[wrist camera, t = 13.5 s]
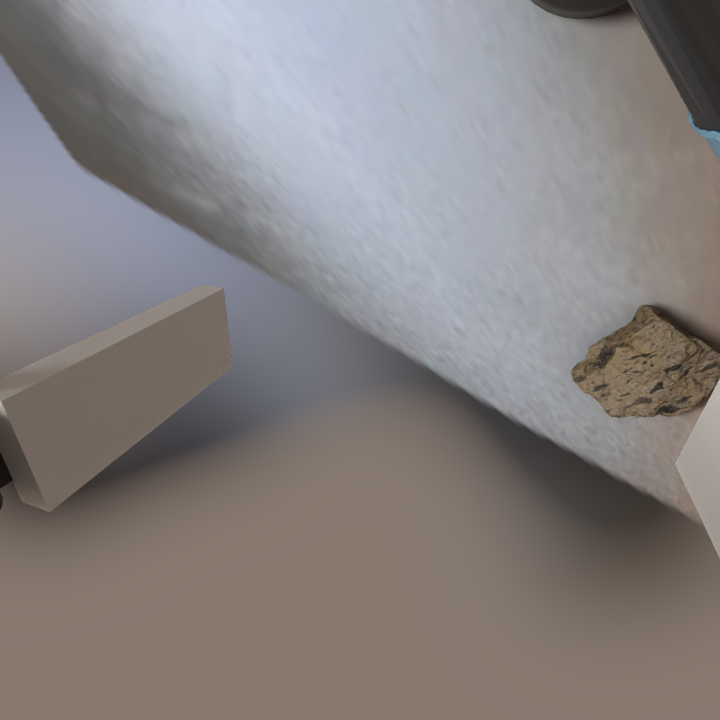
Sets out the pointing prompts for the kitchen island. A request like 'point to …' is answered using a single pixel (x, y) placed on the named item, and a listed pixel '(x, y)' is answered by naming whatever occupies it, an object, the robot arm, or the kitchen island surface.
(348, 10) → the kitchen island surface
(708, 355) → the rock
